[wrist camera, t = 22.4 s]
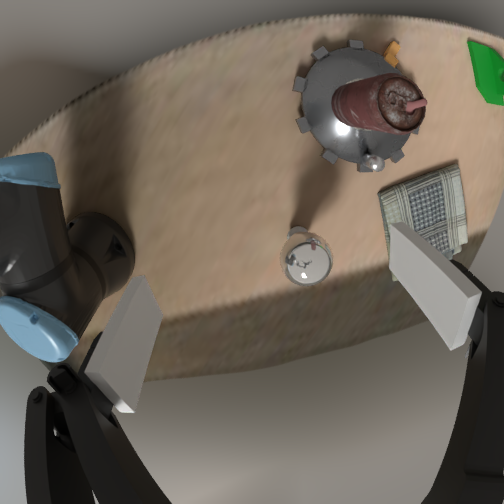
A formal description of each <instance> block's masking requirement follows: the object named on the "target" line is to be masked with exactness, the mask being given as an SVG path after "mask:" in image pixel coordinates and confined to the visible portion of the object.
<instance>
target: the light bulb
mask: <svg viewBox="0 0 504 504" xmlns="http://www.w3.org/2000/svg"><path fill="white" fill-rule="evenodd" d="M280 265H281V268H282V271H283V273H284V274H285V276H286V277H287V278H288V279H289V280H290V281H291V282H293V283H295V284H297V285H300V286H313V285H316V284H318V283H320V282H322V281H323V280H324V279H325V278H326V277H327V276H328V275H329V273H330V271H331V269H332V266H333V253H332V250H331V247H330V245H329V244H328V243H327V241H326V240H325V239H324V238H323V237H321V236H319V235H317V234H315V233H311V232H308V231H307V230H306V229H305V228H303V227H300V226H297V227H294V228H292V229H291V230H290V231H289V232H288V235H287V241H286V242H285V244H284V246H283V247H282V250H281V253H280Z"/></svg>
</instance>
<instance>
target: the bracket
mask: <svg viewBox="0 0 504 504" xmlns="http://www.w3.org/2000/svg"><path fill="white" fill-rule="evenodd" d="M467 44H468V48H469V52H470V56H471V61H472V65H473V71H474V76H475V82H476V87H477V88H478V90H479V91H480V93H481V94H482V96H483V97H484V99H485V100H486V102H487V103H491V104H496V105H502V106H504V101H503V96H504V59H503V58H502V57H501V56H500V55H499V54H498V53H497V52H496V51H495V50H494V49H492V48H489V47H487V46H484V45H481V44H478V43H475V42H472V41H468V42H467Z"/></svg>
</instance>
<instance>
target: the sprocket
mask: <svg viewBox="0 0 504 504" xmlns="http://www.w3.org/2000/svg"><path fill="white" fill-rule="evenodd" d="M347 47H348V48H341V49H337V50H334V51H332V52H330V53H329V52H328V51H327V50H326V48H325V47H324V46H322V47H321V48H319V49H318V50H316V51H315V52H313V53H312V54H311V56H312V57H313V58H314V59H315V60H316V63H315V64H314V65H313V66H312V67H311V69H310V70H309V71H308V73H307V75H306V77H305V78H302V77H298V76H296V77H295V81H294V85H293V90H292V91H296V92H300V93H301V104H302V111H303V115H304V116H303V117H301V118H298V119H295V120H296V122H297V124H298V127H299V129H300V131H301V133H305V132H307V131H311V133H312V134H313V136H314V137H315V139H316V140H317V141H318V142H319V143H320V144H321V145H322V146H323V147H324V150H323V151H322V153H321V155H320V156H322V157H323V158H325V159H326V160H328V161H329V162H331V163H332V164H334V163H335V162H336V160H337V159H338V157H339V158H341V159H344V160H347V161H349V162H353V163H357V171H359V172H373V170H375V171H377V172H379V171H382V170H383V169H384V167H385V162H384V160H386V159H388V158H390V159H391V161H392V162H394V163H397V162H398V161H399V160H400V159H401V158H403V157H404V156H405V155H404V154H403V152H402V150H401V148H402V147H403V146H404V144H405V143H406V141H407V140H408V138H409V136H410V134H411V133H413V134H417V135H418V131H419V127H420V126H419V127H418V128H417V129H415V130H414V131H413V132H410V133H408V134H405V135H396V134H391V133H386V132H380V131H375V130H369V129H362V128H356V127H350V126H347V125H345V124H343V123H342V122H340V121H339V120H338V119H337V118H336V116H335V115H334V113H333V110H332V105H331V100H332V96H333V94H334V92H335V90H336V89H338V88H339V87H340V86H342V85H345V84H348V83H351V82H355V81H359V80H362V79H366V78H370V77H374V76H378V75H382V74H387V73H398V74H400V75H402V74H401V72H400V71H399V70H398V69H397V68H396V65H397V63H398V62H399V61H398V60H397V59H396V58H395V57H394V56H393V55H391V54H390V53H389V52H388V53H385V54H384V56H381V55H379V54H377V53H375V52H373V51H370V50H367V49H364V46H363V41H359V40H348V41H347Z"/></svg>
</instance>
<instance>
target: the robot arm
mask: <svg viewBox="0 0 504 504" xmlns="http://www.w3.org/2000/svg"><path fill="white" fill-rule="evenodd" d="M60 188H61V186H60V184H59V183H58V179H57V173H56V168H55V162H54V160H53V158H52V157H51V156H50V155H49V154H48V153H45V152H37V153H29V154H22V155H16V156H10V157H5V158H0V288H1V290H2V293H3V296H2V297H0V324H1V326H2V327H3V328H4V330H5V331H6V333H7V334H8V335H9V336H10V337H11V338H12V339H13V340H14V341H15V342H16V343H17V344H18V345H19V346H20V347H22V348H23V349H24V350H26V351H27V352H28V353H30V354H32V355H33V356H35V357H37V358H40V359H42V360H45V361H49V362H60V361H63V360H65V359H66V358H67V357H68V356H69V354H70V353H71V351H72V350H73V348H74V347H75V346H76V345H77V344H78V342H79V340H80V338H81V336H82V334H83V333H84V331H85V329H86V327H87V326H88V324H89V322H90V321H91V319H92V317H93V315H94V314H95V312H96V310H97V309H98V307H99V305H100V304H101V302H102V301H103V299H105V298H107V297H108V296H110V295H112V294H113V293H115V292H117V291H118V290H120V289H121V288H122V287H123V286H124V285H125V284H126V283H127V281H128V279H129V278H130V276H131V274H132V272H133V269H134V263H135V257H134V251H133V247H132V244H131V242H130V240H129V238H128V236H127V235H126V233H125V232H124V230H123V229H122V228H121V227H120V226H119V225H118V224H117V223H116V222H115V221H113V220H112V219H110V218H109V217H107V216H105V215H102V214H99V213H94V212H87V213H83V214H80V215H78V216H76V217H75V218H74V219H72V220H71V221H70V222H68V223H67V225H66V222H65V217H64V211H63V206H62V200H61V194H60ZM389 269H390V270H391V271H392V273H393V274H394V275H395V276H396V277H397V279H398V280H399V281H400V282H401V284H402V285H403V286H404V287H405V289H406V290H407V291H408V292H409V294H410V295H411V296H412V298H413V299H414V300H415V302H416V303H417V304H418V306H419V307H420V308H421V310H422V311H423V312H424V314H425V315H426V316H427V318H428V319H429V320H430V322H431V323H432V325H433V326H434V327H435V329H436V330H437V332H439V334H440V336H441V337H442V339H443V340H444V341H445V343H446V345H447V346H448V347H449V349H450V350H453V349H455V348H457V347H459V346H461V345H463V344H464V343H465V340H466V338H467V335H468V334H469V336H470V337H471V339H472V341H471V343H470V345H469V348H468V350H467V353H466V355H465V357H466V358H467V356H468V354H469V356H468V363H467V370H466V376H465V381H464V387H463V392H462V396H461V401H460V405H459V409H458V413H457V417H456V421H455V425H454V428H453V431H452V435H451V438H450V441H449V444H448V448H447V451H446V453H445V456H444V459H443V461H442V464H441V467H440V469H439V472H438V474H437V477H436V479H435V481H434V484H433V486H432V488H431V490H430V492H429V493H428V495H427V496H426V497H425V499H424V500H423V502H422V503H421V504H502V502H503V500H504V474H503V470H504V293H502V292H499V291H498V292H495V291H494V292H491V291H490V290H489V289H488V288H487V287H486V286H485V285H484V284H483V283H482V282H480V281H479V280H478V279H477V278H476V277H475V276H473V274H472V273H471V272H470V271H468V269H467V268H466V267H464V266H463V265H462V264H461V263H459V262H457V261H455V260H453V259H451V260H448V259H447V258H446V257H444V256H443V255H442V254H441V253H440V252H439V251H438V250H437V249H435V248H434V247H433V246H432V245H431V244H430V243H428V242H427V241H426V240H425V239H424V238H422V237H421V236H420V235H419V234H418V233H416V232H415V231H414V230H413V229H411V228H410V227H409V226H408V225H406V224H405V223H404V222H403V221H402V222H397V223H393V224H390V264H389ZM162 317H163V314H162V312H161V310H160V308H159V305H158V303H157V301H156V299H155V297H154V295H153V293H152V291H151V289H150V286H149V284H148V282H147V280H146V278H145V275H143V276H138V277H133V278H132V279H131V281H130V283H129V285H128V286H127V288H126V290H125V292H124V294H123V295H122V297H121V299H120V301H119V303H118V305H117V306H116V308H115V310H114V312H113V314H112V316H111V318H110V320H109V322H108V324H107V326H106V328H105V330H104V331H103V332H100V333H99V334H98V336H97V337H96V338H95V339H94V340H93V342H92V344H91V346H90V349H89V351H88V353H87V355H86V357H85V359H84V361H83V363H82V365H81V367H80V369H79V372H78V374H77V373H76V372H75V371H74V370H73V369H72V367H71V366H70V365H69V364H68V363H60V364H58V365H56V366H55V367H54V368H53V369H52V370H51V371H50V372H49V374H48V377H47V382H48V383H49V385H50V386H51V387H52V388H53V389H54V390H55V391H56V392H52V393H49V391H48V390H47V389H46V388H45V387H43V386H39V387H37V388H35V389H33V391H31V393H30V395H29V397H28V400H27V409H26V422H25V440H24V444H25V445H24V467H25V486H26V496H27V504H95V500H94V496H93V492H94V494H95V496H96V498H97V500H98V502H99V504H172V503H171V502H170V501H169V499H168V498H167V497H166V496H165V494H164V493H163V491H162V490H161V489H160V487H159V486H158V485H157V483H156V482H155V480H154V479H153V478H152V476H151V475H150V473H149V472H148V470H147V469H146V467H145V466H144V465H143V463H142V461H141V460H140V458H139V456H138V455H137V453H136V452H135V450H134V448H133V447H132V445H131V443H130V441H129V440H128V438H127V436H126V435H125V433H124V431H123V429H122V427H121V425H120V424H119V422H118V420H117V418H116V416H115V415H114V414H113V412H112V411H111V410H112V407H113V405H114V406H115V407H116V408H117V409H118V410H119V411H120V412H126V413H127V412H128V413H135V411H136V407H137V403H138V399H139V395H140V391H141V387H142V384H143V380H144V377H145V373H146V370H147V366H148V363H149V359H150V356H151V353H152V349H153V346H154V343H155V339H156V336H157V333H158V330H159V326H160V323H161V320H162ZM54 430H56V433H57V435H56V436H55V435H54ZM92 490H93V492H92Z"/></svg>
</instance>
